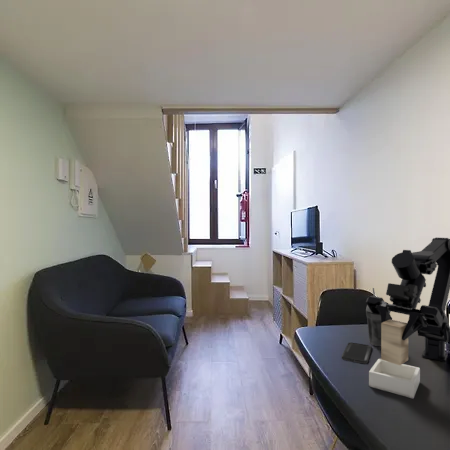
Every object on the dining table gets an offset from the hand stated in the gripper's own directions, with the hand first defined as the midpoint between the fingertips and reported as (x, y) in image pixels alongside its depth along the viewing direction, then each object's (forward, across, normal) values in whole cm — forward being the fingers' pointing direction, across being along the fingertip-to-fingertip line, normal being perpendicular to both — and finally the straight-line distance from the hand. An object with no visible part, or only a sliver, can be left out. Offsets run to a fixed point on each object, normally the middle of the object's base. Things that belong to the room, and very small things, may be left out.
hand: (392, 336), depth 92 cm
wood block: (+4, 0, +6) cm, 7 cm away
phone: (0, -18, +19) cm, 26 cm away
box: (+8, 0, +10) cm, 13 cm away
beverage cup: (-9, -18, +29) cm, 35 cm away
